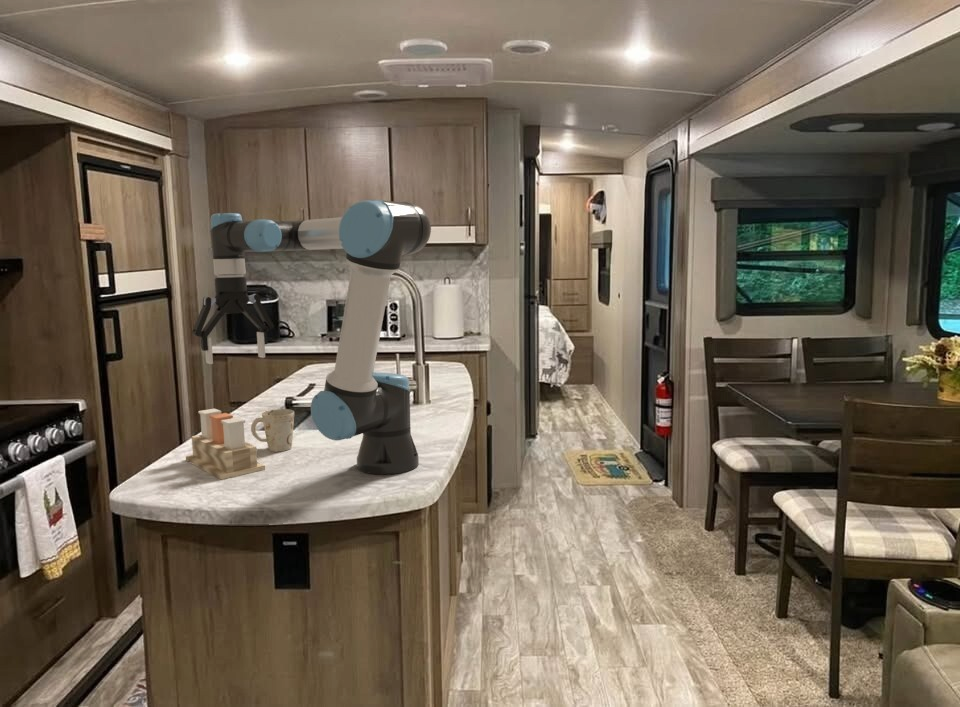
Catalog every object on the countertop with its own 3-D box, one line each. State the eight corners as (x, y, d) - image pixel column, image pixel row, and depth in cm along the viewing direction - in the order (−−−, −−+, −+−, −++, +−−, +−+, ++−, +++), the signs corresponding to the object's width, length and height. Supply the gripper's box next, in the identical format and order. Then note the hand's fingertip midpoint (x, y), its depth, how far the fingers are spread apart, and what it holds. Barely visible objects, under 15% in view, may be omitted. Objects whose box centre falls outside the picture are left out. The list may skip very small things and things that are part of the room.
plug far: (223, 439, 190) (221, 411, 189) (207, 442, 188) (204, 413, 187) (216, 436, 194) (214, 408, 192) (200, 439, 191) (198, 411, 190)
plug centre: (234, 444, 185) (232, 415, 184) (218, 447, 182) (216, 418, 181) (227, 441, 188) (225, 412, 187) (211, 444, 186) (209, 415, 184)
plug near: (247, 450, 180) (245, 420, 179) (230, 453, 177) (228, 423, 176) (239, 446, 183) (237, 417, 182) (223, 450, 180) (221, 420, 179)
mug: (287, 453, 195) (285, 416, 194) (243, 451, 198) (241, 415, 196) (301, 445, 203) (299, 409, 202) (259, 443, 206) (256, 408, 204)
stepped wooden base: (264, 469, 182) (263, 445, 181) (221, 479, 174) (219, 454, 174) (227, 451, 198) (225, 429, 197) (185, 460, 191) (184, 437, 190)
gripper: (271, 273, 196) (276, 353, 199) (174, 278, 181) (181, 364, 184) (283, 274, 191) (288, 356, 194) (184, 278, 175) (191, 367, 178)
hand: (236, 360), depth 189 cm, fingers open, 13 cm apart
